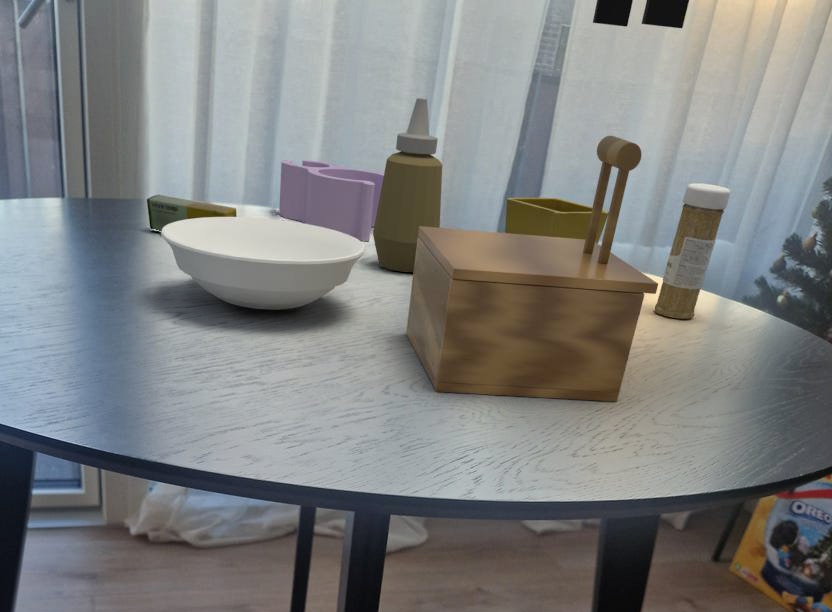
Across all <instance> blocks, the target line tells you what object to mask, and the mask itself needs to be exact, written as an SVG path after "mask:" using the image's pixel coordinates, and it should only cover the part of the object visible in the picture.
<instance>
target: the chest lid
mask: <svg viewBox="0 0 832 612" xmlns="http://www.w3.org/2000/svg"><path fill="white" fill-rule="evenodd" d="M596 157H597V158H598V160H599V161H600V162H601V167H600V171H599V176H598V181H597V185H596V190H595V194H594V199H593V204H592V207H593V208H592V212H591V217H590V222H589V226H588V231H587V235H586V240H584V239H572V238H560V237H547V236H535V235H523V234H511V233H505V232H497V231H484V230H473V229H460V228H459V229H458V228H449V227H440V228H437V227H424V226H419V231H418V236H419V237H420V238H421V239H422V241H423V242H424V243H425V245H426V246H427V247H428V248H429V250H430V251H431V252H432V253H433V255H434V256H435V257H436V258H437V260H438V261H439V262H440V264H441V265H442V266H443V267H444V269H445V270H446V271H447V272H448V274H449V275H450V276H451V278H452V279H460V280H473V281H487V282H500V283H514V284H527V285H541V286H555V287H568V288H582V289H595V290H609V291H622V292H636V293H644V294H651V295H656V294H657V290H658V286H659V283H658V282H657V281H655V280H654V279H652V278H651V277H649V276H647V275H646V274H645V273H643V272H642V271H640V270H638V269H637V268H635V267H634V266H632V265H630V264H629V263H627V262H626V261H625V260H623V259H621V258H620V257H618V256H617V255H615V254H614V253H612V247H613V243H614V238H615V233H616V229H617V226H618V220H619V217H620V213H621V208H622V203H623V200H624V196H625V191H626V187H627V182H628V179H629V174H630V171H633V170H634V169H636V168H637V167H638V166H639V165H640V162H641V160H642V149H641V148H640V146H639V145H638V144H637V143H635V142H632V141H629V140H626V139H623V138H620V137H617V136H615V135H607V136H604V137H603V138H602V139H600V141H599V143H597V147H596ZM613 167H614V168H616V169H617V170H618V171H617V173H616V174H617V175H616V179H615V184H614V187H613V192H612V197H611V201H610V206H609V210H608V212H609V214H608V217H607V220H606V222H605V226H604V230H603V236H602V239H601V240H602V241H601V245H600V244H599V243H598V244H597V243H596V242H595V240H596V236H597V231H598V227H599V222H600V218H601V213H602V210H604V209H603V208H604V204H605V201H606V195H607V191H608V187H609V182H610V177H611V174H612V173H611V172H612V168H613Z"/></svg>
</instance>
